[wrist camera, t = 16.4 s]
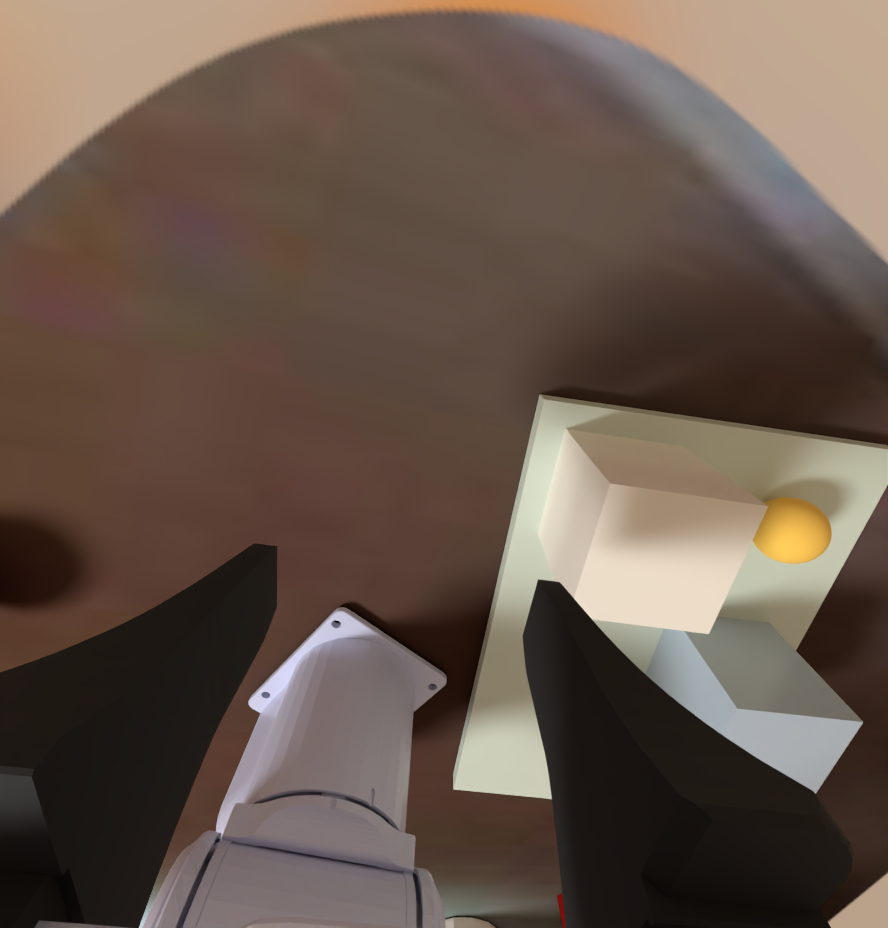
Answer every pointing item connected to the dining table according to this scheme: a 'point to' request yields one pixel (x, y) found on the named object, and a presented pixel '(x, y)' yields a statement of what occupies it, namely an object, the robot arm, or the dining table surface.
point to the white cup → (467, 923)
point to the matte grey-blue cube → (757, 695)
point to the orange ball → (793, 531)
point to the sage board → (750, 598)
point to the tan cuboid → (645, 531)
